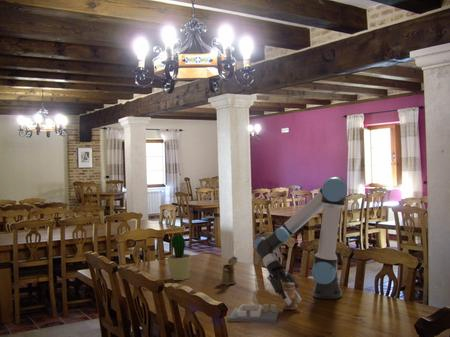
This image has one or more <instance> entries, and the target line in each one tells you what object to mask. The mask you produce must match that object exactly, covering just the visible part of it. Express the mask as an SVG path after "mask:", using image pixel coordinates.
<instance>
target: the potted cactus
mask: <svg viewBox="0 0 450 337" xmlns="http://www.w3.org/2000/svg"><path fill="white" fill-rule="evenodd" d="M170 244H171V248H172V249H173V252H174V254H170V255H167V256H166V257H167V264H168V268H169V273H170V274H169V275H170V279H171V278H172V279H176V280H182V281H184V280H183V279H187V278H189V277H190V270H191V269H190V268H191V257H192V255H191V254H188V253H185V249H186V240H185V237H184V235H183V234H182V233H175V234H174V235H173V236H172V238H171V242H170ZM172 279H171V280H172ZM187 280H188V279H187Z"/></svg>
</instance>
